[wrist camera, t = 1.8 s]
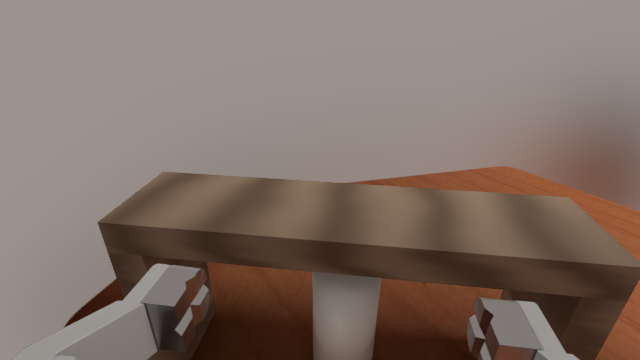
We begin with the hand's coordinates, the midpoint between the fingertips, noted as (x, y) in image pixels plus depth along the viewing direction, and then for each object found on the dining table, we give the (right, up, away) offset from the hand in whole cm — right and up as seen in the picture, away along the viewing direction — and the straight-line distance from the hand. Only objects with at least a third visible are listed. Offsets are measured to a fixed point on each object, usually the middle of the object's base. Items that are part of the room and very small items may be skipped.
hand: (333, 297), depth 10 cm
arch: (+2, -13, +21) cm, 25 cm away
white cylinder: (+2, -13, +21) cm, 25 cm away
